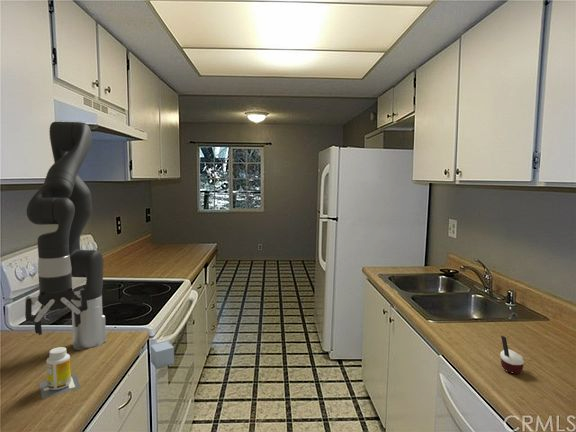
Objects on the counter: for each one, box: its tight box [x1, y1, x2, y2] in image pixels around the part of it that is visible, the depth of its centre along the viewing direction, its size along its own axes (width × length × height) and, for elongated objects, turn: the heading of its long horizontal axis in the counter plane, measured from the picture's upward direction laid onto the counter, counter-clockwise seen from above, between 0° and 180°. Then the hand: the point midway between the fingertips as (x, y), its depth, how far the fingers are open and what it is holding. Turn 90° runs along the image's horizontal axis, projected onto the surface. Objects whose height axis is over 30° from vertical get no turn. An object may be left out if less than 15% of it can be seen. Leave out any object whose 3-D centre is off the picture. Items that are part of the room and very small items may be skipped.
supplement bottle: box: [45, 346, 72, 390], centre depth 104 cm, size 6×6×10 cm
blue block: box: [150, 340, 175, 370], centre depth 120 cm, size 6×6×6 cm
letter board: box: [38, 373, 82, 400], centre depth 104 cm, size 9×9×1 cm
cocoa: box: [500, 335, 525, 374], centre depth 119 cm, size 10×6×12 cm, turn 89°
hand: (58, 329), depth 103 cm, fingers open, 8 cm apart
